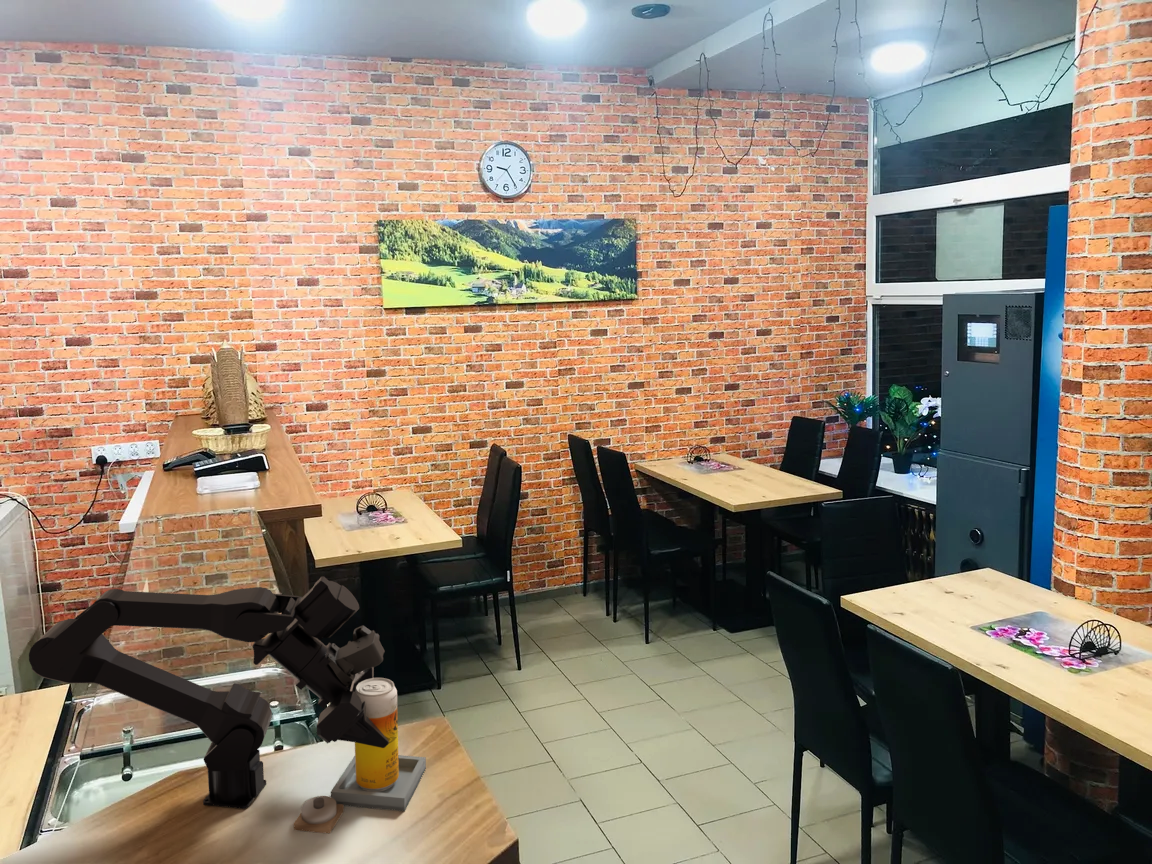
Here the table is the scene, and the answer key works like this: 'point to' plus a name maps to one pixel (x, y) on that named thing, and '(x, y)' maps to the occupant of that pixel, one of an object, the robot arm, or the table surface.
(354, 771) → the tray
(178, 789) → the table surface
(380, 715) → the beer can
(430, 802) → the table surface
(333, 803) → the desk bell
